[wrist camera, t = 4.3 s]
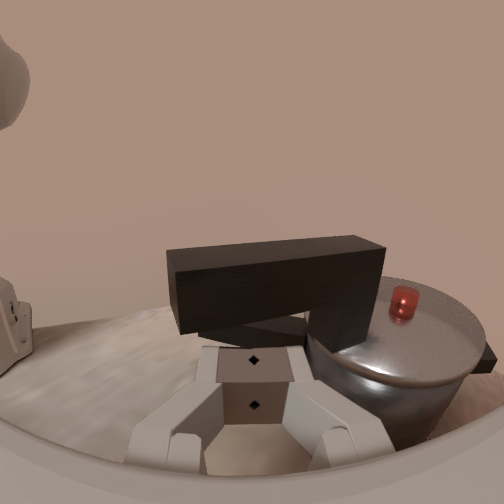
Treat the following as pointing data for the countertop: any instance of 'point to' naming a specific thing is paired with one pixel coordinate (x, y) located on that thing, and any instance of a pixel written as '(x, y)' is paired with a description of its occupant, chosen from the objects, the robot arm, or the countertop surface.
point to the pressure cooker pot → (357, 379)
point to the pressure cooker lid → (331, 306)
